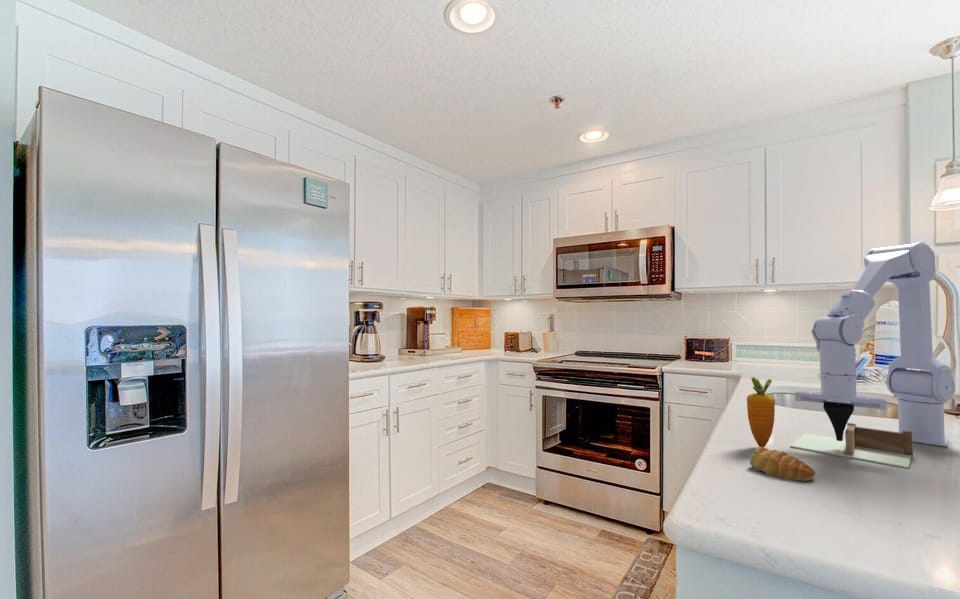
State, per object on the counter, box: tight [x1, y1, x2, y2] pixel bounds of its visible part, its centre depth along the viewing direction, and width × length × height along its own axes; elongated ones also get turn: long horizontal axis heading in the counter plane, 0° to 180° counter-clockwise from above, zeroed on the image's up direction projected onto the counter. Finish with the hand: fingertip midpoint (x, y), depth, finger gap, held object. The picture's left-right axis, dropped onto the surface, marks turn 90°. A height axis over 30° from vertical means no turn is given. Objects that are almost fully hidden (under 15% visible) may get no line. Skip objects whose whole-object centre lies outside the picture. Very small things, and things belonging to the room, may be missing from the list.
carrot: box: [746, 376, 776, 448], centre depth 92 cm, size 5×5×15 cm
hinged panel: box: [844, 424, 855, 454], centre depth 89 cm, size 1×8×4 cm, turn 137°
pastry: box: [749, 446, 816, 482], centre depth 78 cm, size 9×7×4 cm
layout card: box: [789, 432, 913, 470], centre depth 91 cm, size 14×18×1 cm
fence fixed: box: [846, 422, 914, 456], centre depth 90 cm, size 1×10×4 cm, turn 43°
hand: (839, 440), depth 90 cm, fingers closed
